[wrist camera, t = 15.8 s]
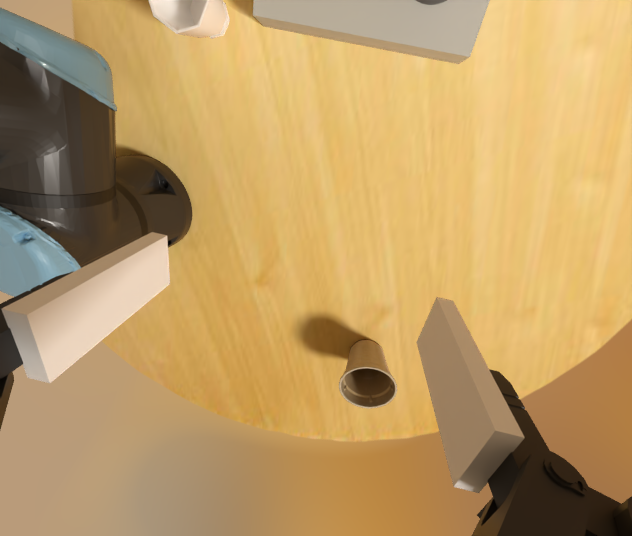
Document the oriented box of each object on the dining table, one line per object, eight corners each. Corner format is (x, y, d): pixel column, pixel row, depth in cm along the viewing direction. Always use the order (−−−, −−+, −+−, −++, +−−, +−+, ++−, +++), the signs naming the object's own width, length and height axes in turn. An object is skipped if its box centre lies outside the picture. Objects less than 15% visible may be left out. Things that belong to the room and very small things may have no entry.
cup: (237, 57, 37) (208, 41, 30) (163, 39, 38) (117, 19, 31) (242, -15, 34) (211, -52, 27) (161, -33, 35) (109, -74, 27)
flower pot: (401, 360, 55) (407, 398, 48) (357, 376, 59) (357, 414, 51) (376, 325, 52) (379, 359, 45) (332, 343, 56) (328, 378, 48)
